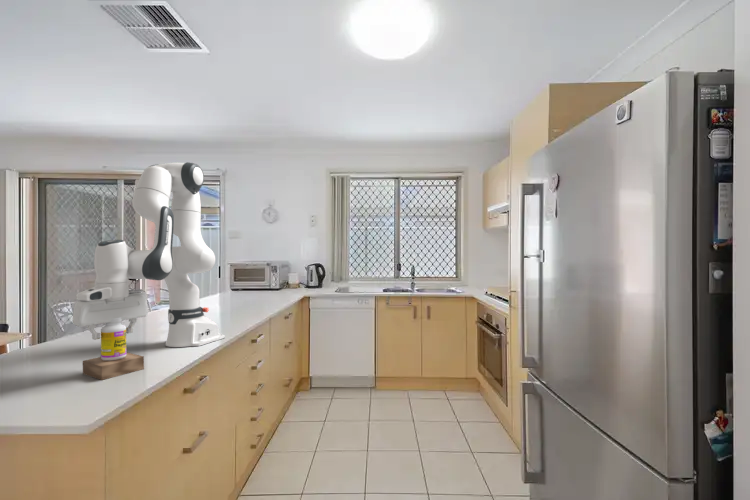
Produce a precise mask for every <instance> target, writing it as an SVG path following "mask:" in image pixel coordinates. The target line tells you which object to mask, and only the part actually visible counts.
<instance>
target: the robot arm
mask: <svg viewBox="0 0 750 500" xmlns="http://www.w3.org/2000/svg"><path fill="white" fill-rule="evenodd" d="M204 180H205V175H204V171H203V169H202V168H201V167H200V166H199V164H197V163H193V162H176V161H175V162H169V163H166V162H165V163H162V164H160V163H159V164H158V163H155V164H152V165H150V166H148V167H146V168H145V169H144V170H143V172H142V173H141V176H139V179H138V181H137V184H136V186H135V189H134V192H133V196H132V200H131V201H132V202H131V203H132V208H133V209H134V211H135V212H136V214H137V215H139V216H140V217H142V218H143V219H145V220H147V221H149V222H152V223H154V225H155V230H154V231H155V233H154V240H153V241H154V242H153V243H154V244H153V247H152V248H151V249H149V250H148V249H144V250H143V249H134V248H132V247H130V246H129V245H128V244H127V243H126V241H125V240H123V239H110V240H104V241H100V242H99V243H97V244H96V247H95V250H94V265H93V266H94V272H95V276H96V277H95V280H94V286H93V287H91V288H87V289H86V290H83V291H79V292H77V293H76V295H75V297H76V298H75V299H76V300H77V301H76V302H75V304H74V306H73V311H72V324H73V325H74V326H76V327H79V328H82V327H87V330H88V331H89V332H90V333H91V334H92V335H91V338H92V340H94V341H95V340H101V332H98V331H96V328H97V325H101V324H105V323H109V322H111V320H112V319H113V318H120V317H121V319H122V321H127V320H128V322H129V324H128V326H127V327H126V334H133V332H134V326H135V325H136V323H137V319H138V318H139V319H140V318H145V317H147V316H148V313H149V308H148V303H147V292H146V291H145V290H143V289H141V288H137V289H130V285H129V284H130V283H129V282H130V281H129V279H131V280H150V281H151V280H153V281H162V280H164V281H165V285H166V287H167V291H168V303H169V307H168V311H167V315H168V316H167V319H168V331H167V332H168V333H167V337H166V341H165V346H166V347H170V348H185V347H200V346H203V345H207V344H211V343H213V342H217V341H220V340H223V339H225V338H226V336H225V334H223V333H220V329H219V325H218V323H216V322H215V321H213V320H212V319H210V317H209V318H208V317H207V316H206V315H205V313H209V311H210V308H209V307H205V306H204V307H201V306H200V305H201V302H200V300H201V299H200V297H201V296H200V293H201V292H200V288H199V286H198V285H197V284H195V283H193V282H192V281H191V279H190V277H189V274H190V275H191V274H192V275H193V274H202V273H203V274H204V273H208V272H210V271H212V270H213V268H214V267H215V264H216V254H215V252H214V251H213V250H212V248H210V247H209V246H208V245H207V244H206V242H205V241H204V238H203V235H202V230H201V229H202V228H201V227H202V225H201V224H202V223H201V221H202V219H201V217H202V216H201V215H202V206H201V197H200V196H201V195H200V192H199V191H200V190H201V188H202V186H203V183H204ZM171 194H172V200H171V205H169V204H170V199H171ZM170 206H171V207H170ZM174 236H176V237H177V238H178V239H179V243H180V246H179V245H178V246H173V241H174Z"/></svg>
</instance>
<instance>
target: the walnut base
mask: <svg viewBox="0 0 750 500" xmlns="http://www.w3.org/2000/svg"><path fill="white" fill-rule="evenodd" d="M144 369H145V357H144V356H143V355H139V354H135V353H131V352H127V351H126V357H124V358H122V359H119V360H113V361H104V360H102V359H101V356H98V357H94V358H89V359H84V360H82V374H83V375H86V376H89V377H91V378H95V379H97V380H100V381H104V380H108V379H111V378H116V377H120V376H123V375H127V374H131V373H134V372H138V371H142V370H144Z"/></svg>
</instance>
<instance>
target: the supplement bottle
mask: <svg viewBox="0 0 750 500" xmlns="http://www.w3.org/2000/svg"><path fill="white" fill-rule="evenodd" d="M126 352H127V333H126V324H123V320H122V319H121V317H120V318H113V319H112V320H111V322H109V323H104V326H102V327H101V329H100V357H101V359H102V360H104V361H113V360H119V359H122V358H124V357H126Z"/></svg>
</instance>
